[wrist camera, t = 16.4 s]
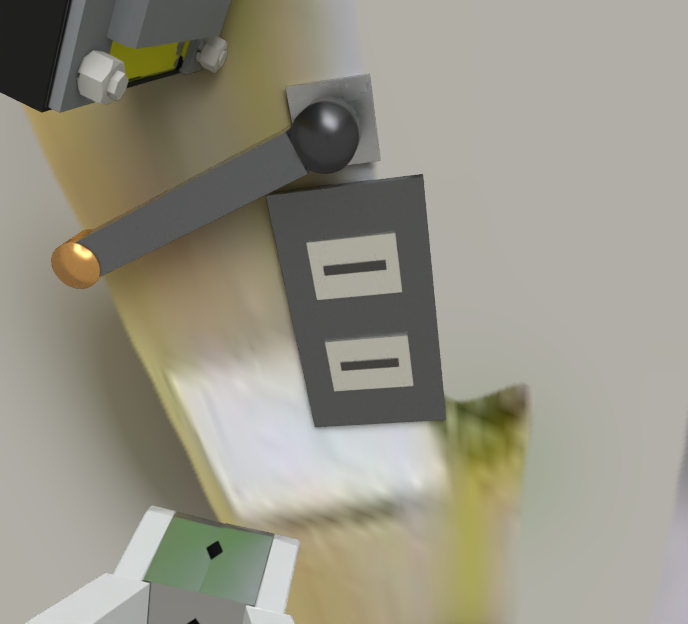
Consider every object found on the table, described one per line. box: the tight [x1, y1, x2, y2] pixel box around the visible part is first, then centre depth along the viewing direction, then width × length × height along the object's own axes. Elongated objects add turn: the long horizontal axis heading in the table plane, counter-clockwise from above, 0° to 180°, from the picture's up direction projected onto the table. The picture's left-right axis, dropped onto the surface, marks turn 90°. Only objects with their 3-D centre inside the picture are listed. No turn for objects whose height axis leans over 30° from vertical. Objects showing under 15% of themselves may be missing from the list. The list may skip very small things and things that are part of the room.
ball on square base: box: [286, 74, 380, 165], centre depth 43 cm, size 6×6×3 cm
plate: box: [266, 174, 446, 427], centre depth 50 cm, size 12×22×1 cm, turn 9°
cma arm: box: [51, 97, 361, 289], centre depth 43 cm, size 25×4×3 cm, turn 117°
